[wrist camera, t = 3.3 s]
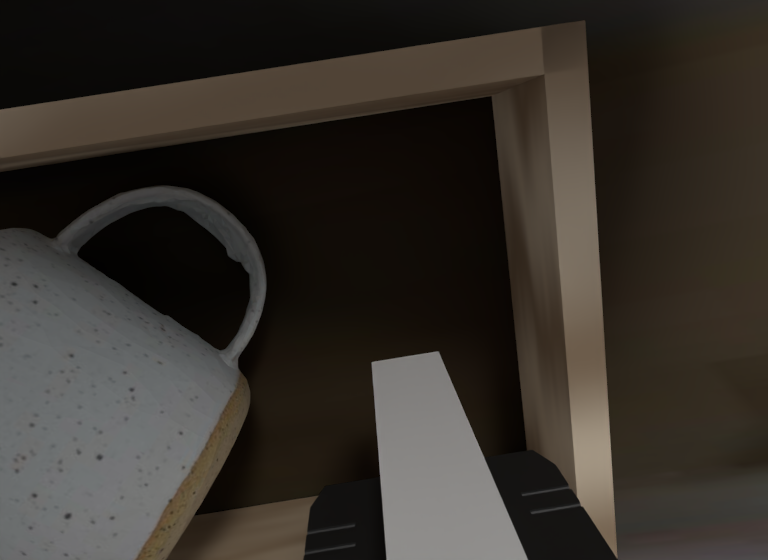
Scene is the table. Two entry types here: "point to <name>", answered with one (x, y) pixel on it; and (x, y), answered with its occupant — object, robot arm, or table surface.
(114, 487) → the ceramic mug
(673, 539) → the table surface
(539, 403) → the frame
